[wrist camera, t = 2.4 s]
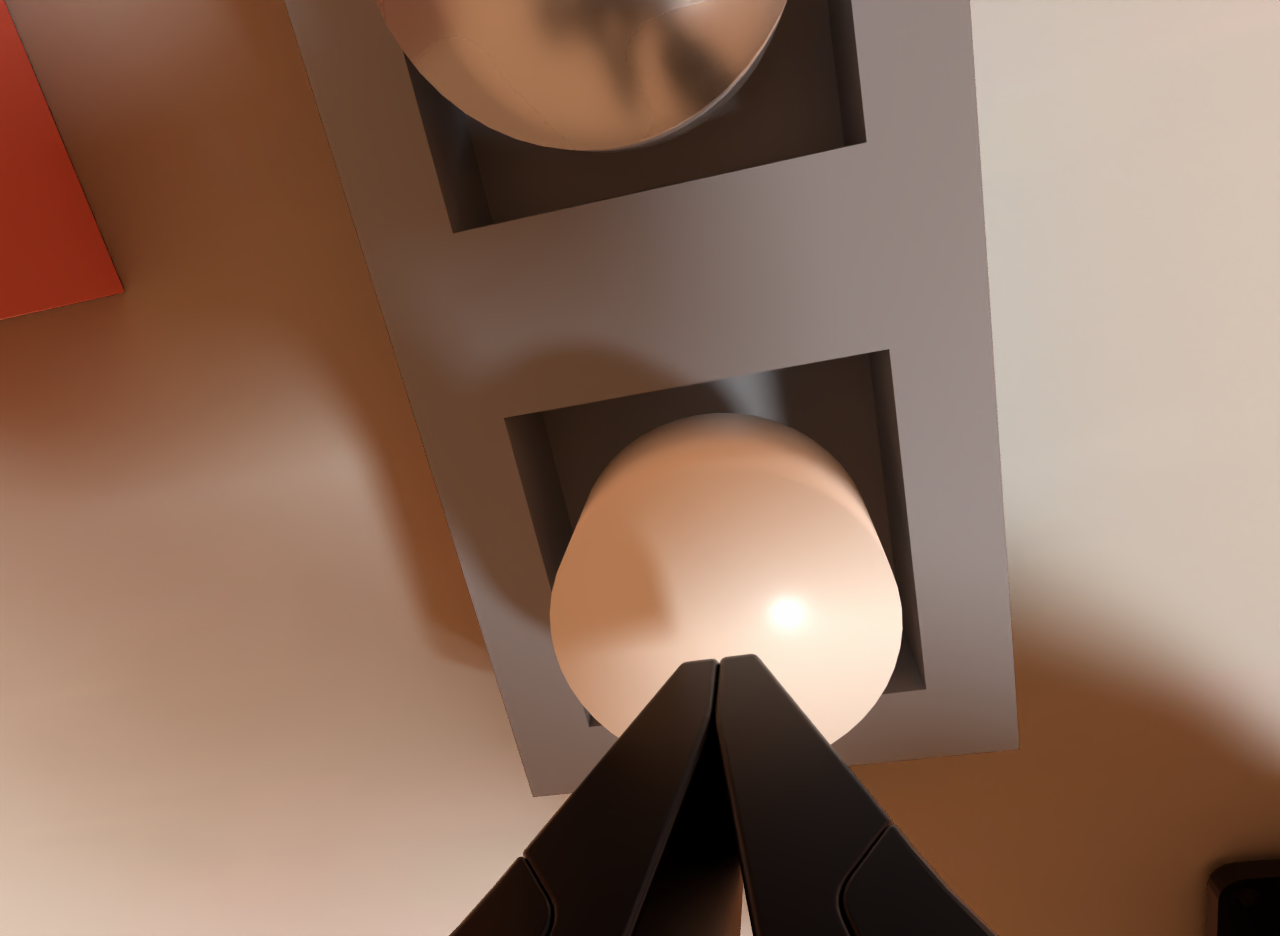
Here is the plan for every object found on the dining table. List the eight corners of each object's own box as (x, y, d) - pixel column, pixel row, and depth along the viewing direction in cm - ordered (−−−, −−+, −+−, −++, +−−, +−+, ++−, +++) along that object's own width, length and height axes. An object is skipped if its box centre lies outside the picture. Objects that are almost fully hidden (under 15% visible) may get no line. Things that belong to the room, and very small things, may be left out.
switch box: (966, 643, 16) (1018, 748, 13) (551, 693, 17) (516, 798, 14) (872, -430, 10) (926, -649, 8) (284, -234, 12) (144, -360, 9)
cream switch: (887, 658, 13) (918, 753, 11) (613, 690, 13) (592, 785, 11) (853, 388, 11) (881, 437, 9) (548, 440, 12) (511, 497, 10)
